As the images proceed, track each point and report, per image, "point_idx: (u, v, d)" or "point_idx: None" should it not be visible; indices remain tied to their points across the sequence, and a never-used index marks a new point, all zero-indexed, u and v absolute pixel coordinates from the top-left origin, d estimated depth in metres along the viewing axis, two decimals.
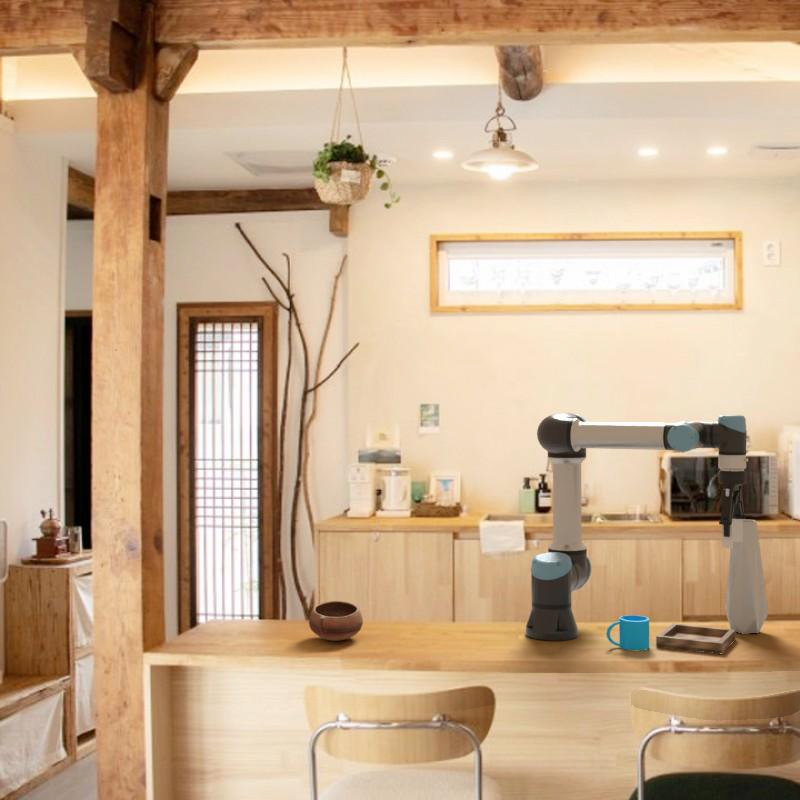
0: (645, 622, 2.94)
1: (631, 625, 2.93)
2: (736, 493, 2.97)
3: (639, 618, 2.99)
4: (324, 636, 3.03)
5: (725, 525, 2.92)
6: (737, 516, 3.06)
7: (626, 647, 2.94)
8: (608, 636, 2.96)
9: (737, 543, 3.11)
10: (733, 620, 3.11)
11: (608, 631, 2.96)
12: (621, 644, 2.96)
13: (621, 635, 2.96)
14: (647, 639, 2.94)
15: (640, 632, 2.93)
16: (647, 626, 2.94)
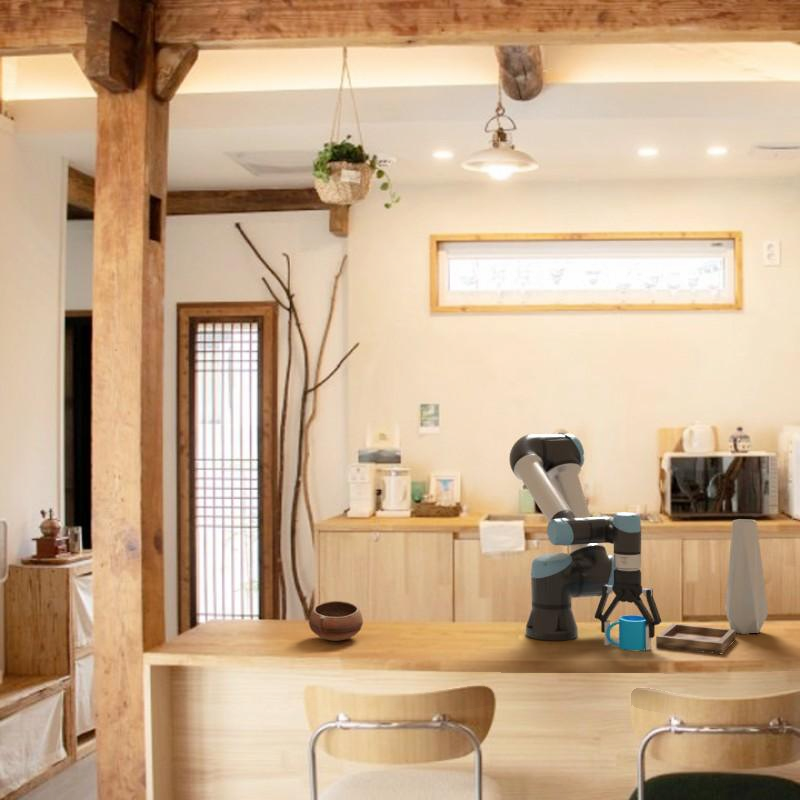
0: (645, 622, 2.94)
1: (631, 625, 2.93)
2: (618, 592, 2.96)
3: (639, 618, 2.99)
4: (324, 636, 3.03)
5: None
6: None
7: (626, 647, 2.94)
8: (608, 636, 2.96)
9: (737, 543, 3.11)
10: (733, 620, 3.11)
11: (608, 631, 2.96)
12: (621, 644, 2.96)
13: (621, 635, 2.96)
14: None
15: (639, 632, 2.93)
16: None
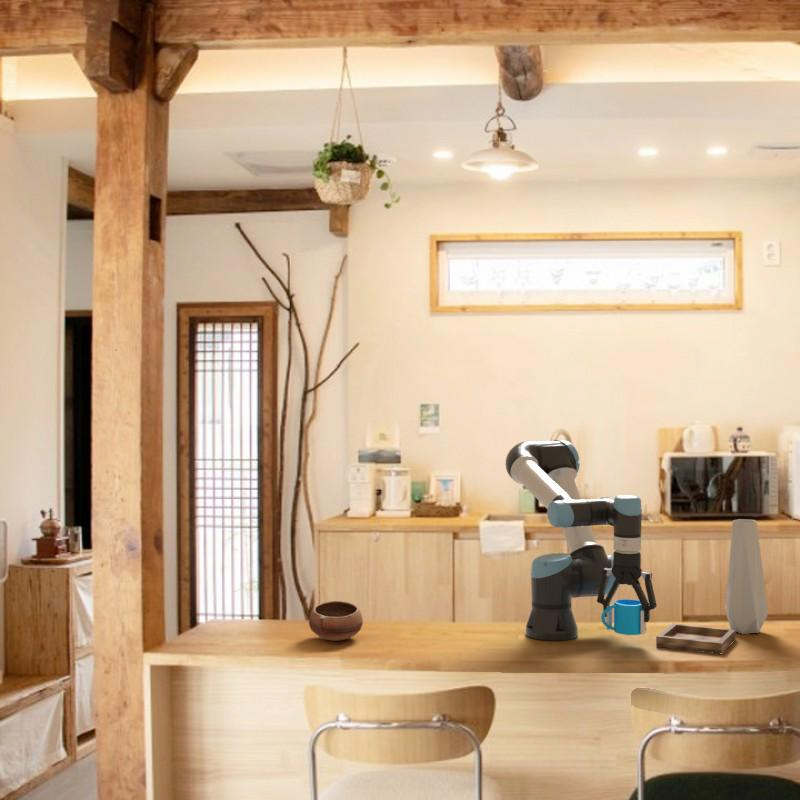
0: (640, 606, 2.95)
1: (626, 609, 2.94)
2: None
3: (634, 602, 3.00)
4: (324, 636, 3.03)
5: None
6: None
7: (621, 631, 2.95)
8: (603, 620, 2.97)
9: (737, 543, 3.11)
10: (733, 620, 3.11)
11: (603, 615, 2.97)
12: (616, 628, 2.97)
13: (616, 619, 2.97)
14: None
15: (635, 616, 2.94)
16: None
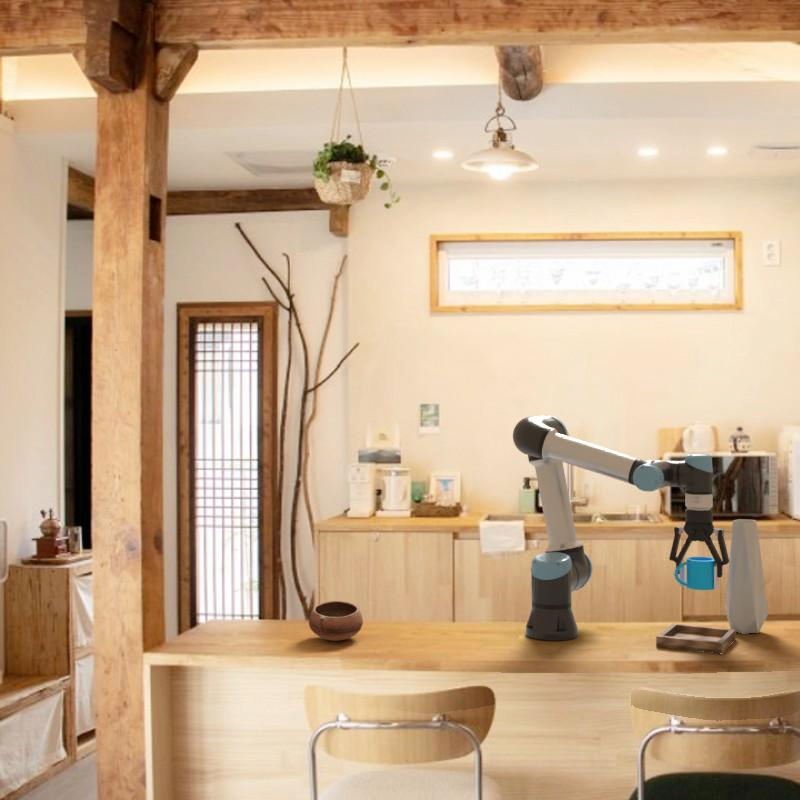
0: (713, 562, 3.01)
1: (699, 564, 3.00)
2: None
3: (705, 559, 3.06)
4: (324, 636, 3.03)
5: None
6: None
7: (694, 586, 3.01)
8: (676, 576, 3.03)
9: (737, 543, 3.11)
10: (733, 620, 3.11)
11: (676, 571, 3.03)
12: (689, 584, 3.03)
13: (689, 575, 3.03)
14: None
15: (708, 571, 3.00)
16: None
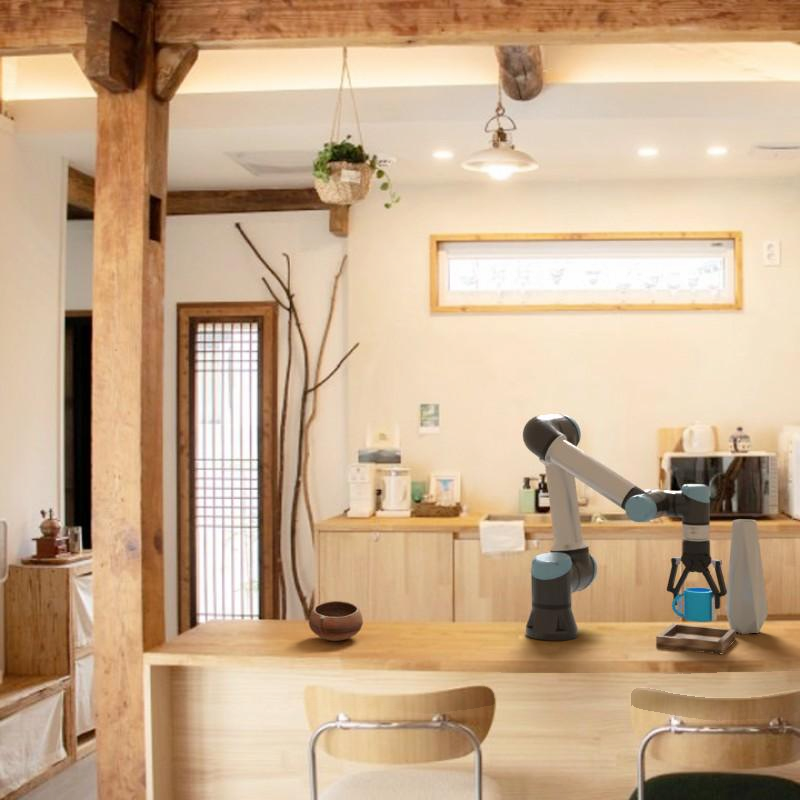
0: (710, 593, 2.98)
1: (697, 596, 2.97)
2: (687, 562, 3.00)
3: (703, 590, 3.03)
4: (324, 636, 3.03)
5: None
6: None
7: (692, 618, 2.98)
8: (674, 608, 3.00)
9: (737, 543, 3.11)
10: (733, 620, 3.11)
11: (674, 603, 3.00)
12: (686, 615, 3.00)
13: (686, 606, 3.00)
14: None
15: (706, 603, 2.97)
16: None
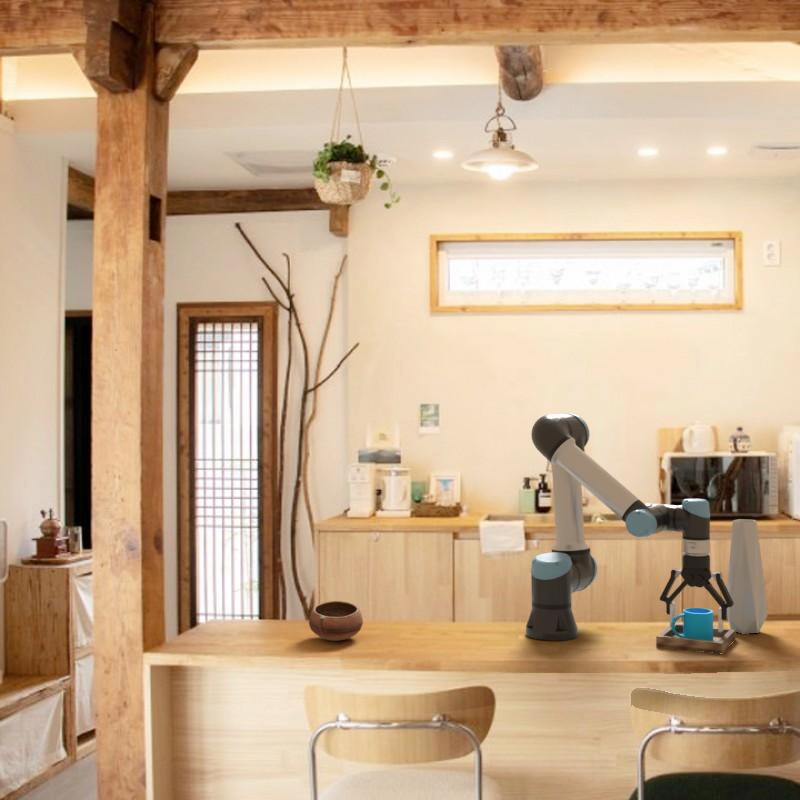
0: (710, 614, 2.98)
1: (696, 617, 2.97)
2: (687, 576, 3.00)
3: (702, 611, 3.04)
4: (324, 636, 3.03)
5: None
6: None
7: None
8: (673, 628, 3.00)
9: (737, 543, 3.11)
10: (733, 620, 3.11)
11: (673, 623, 3.00)
12: (686, 636, 3.00)
13: (686, 627, 3.00)
14: (711, 631, 2.99)
15: (705, 624, 2.97)
16: (711, 618, 2.99)
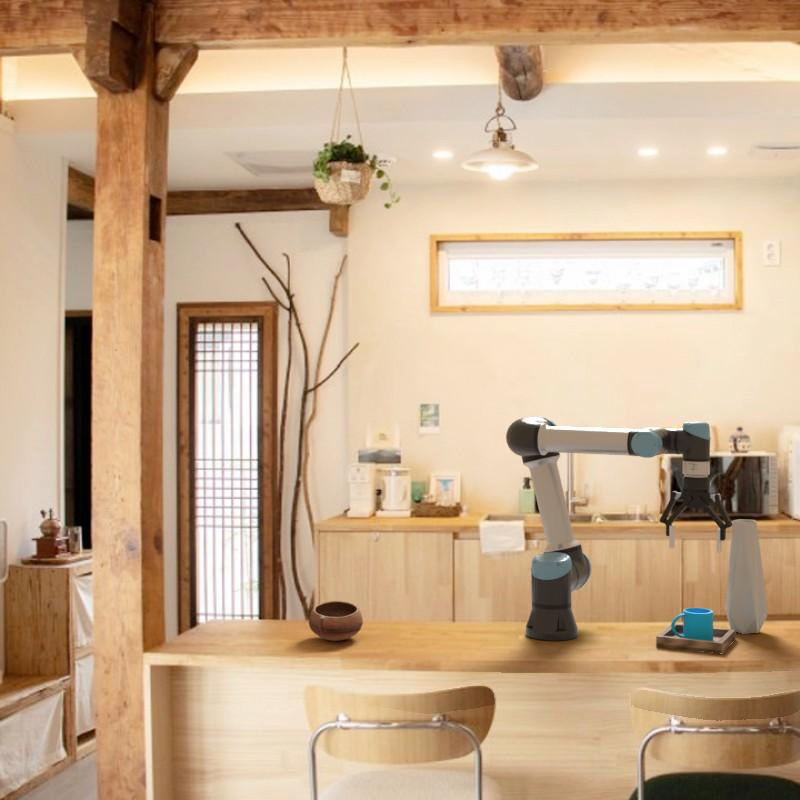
0: (710, 614, 2.98)
1: (696, 617, 2.97)
2: (687, 498, 3.04)
3: (702, 611, 3.04)
4: (324, 636, 3.03)
5: None
6: None
7: None
8: (673, 628, 3.00)
9: (737, 543, 3.11)
10: (733, 620, 3.11)
11: (673, 623, 3.00)
12: (686, 636, 3.00)
13: (686, 627, 3.00)
14: (711, 631, 2.99)
15: (705, 624, 2.97)
16: (711, 618, 2.99)
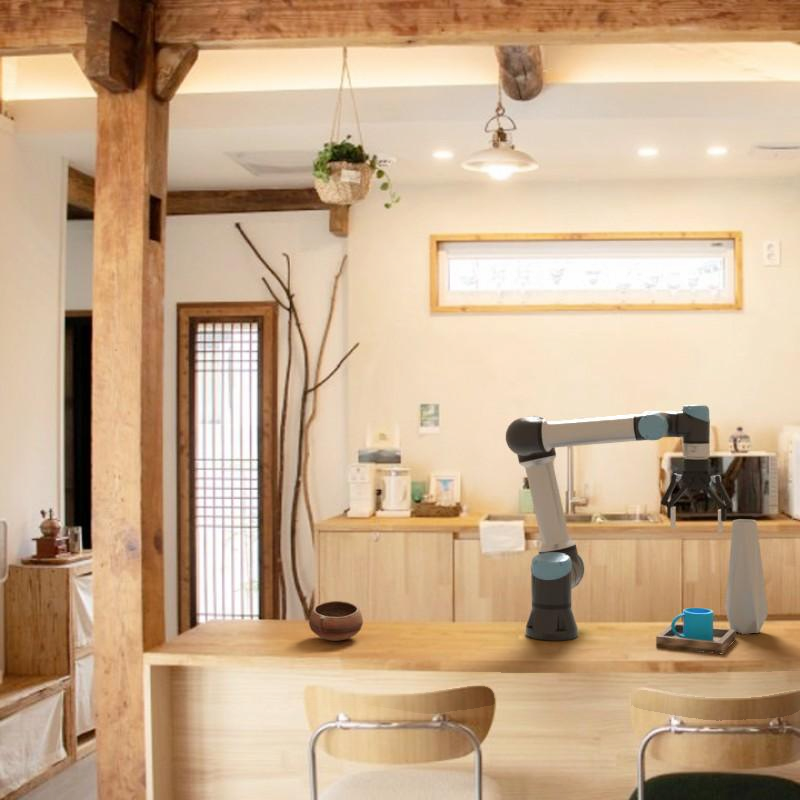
0: (710, 614, 2.98)
1: (696, 617, 2.97)
2: (687, 480, 3.08)
3: (702, 611, 3.04)
4: (324, 636, 3.03)
5: None
6: None
7: None
8: (673, 628, 3.00)
9: (737, 543, 3.11)
10: (733, 620, 3.11)
11: (673, 623, 3.00)
12: (686, 636, 3.00)
13: (686, 627, 3.00)
14: (711, 631, 2.99)
15: (705, 624, 2.97)
16: (711, 618, 2.99)
